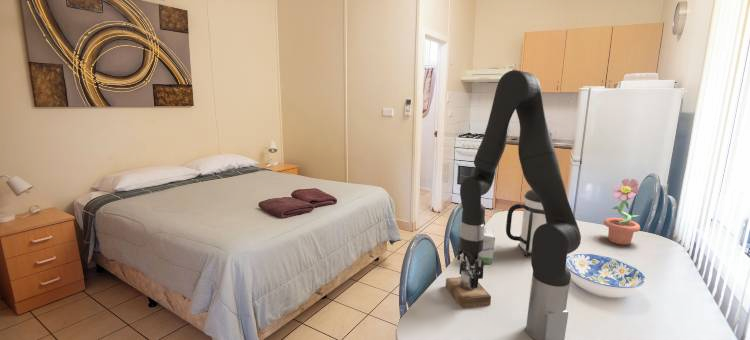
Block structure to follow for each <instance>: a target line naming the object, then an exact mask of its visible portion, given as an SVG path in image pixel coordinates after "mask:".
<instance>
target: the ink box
mask: <svg viewBox="0 0 750 340" xmlns="http://www.w3.org/2000/svg"><path fill="white" fill-rule="evenodd" d="M495 241H496V235H495V232H494V229H490V228H484V241H483V250H482V251H481V252H480V253H479V254H478V257H479V260H483V261H484V264H486V265H492V264H493V259H494V250H495V243H496V242H495Z"/></svg>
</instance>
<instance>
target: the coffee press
mask: <svg viewBox="0 0 750 340" xmlns="http://www.w3.org/2000/svg"><path fill="white" fill-rule="evenodd" d="M523 197H524V203H523V204H520V203H516V204H513V205H511V206H510V207H509V209H508V211H507V215H506V224H505V232H506V235H507V237H508V238H509V239H510V240H512V241H517V242H519V243H518V244H517V246H518V248H521V249H523V250H524V252H523V256H524V257H529V255H530V254H531V253H532V241H533V235H534V232H535V230H536V229H537V228H538V227H539V226H540V225H543V224H545V223H546V218H545V213H544V209H543V206H542V204H541V201H540V200H539V198H538V196H537V195H536V194H535V192H534V191H533V190H532V188H530V189H528V190H527V191H526V193H525V194H524V196H523ZM518 209H523V214H522V221H521V232H520V235H519V236H516V235H513V234H512V233H511V230H512V220H513V219H512V218H513V213H514V212H515V210H518Z"/></svg>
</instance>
